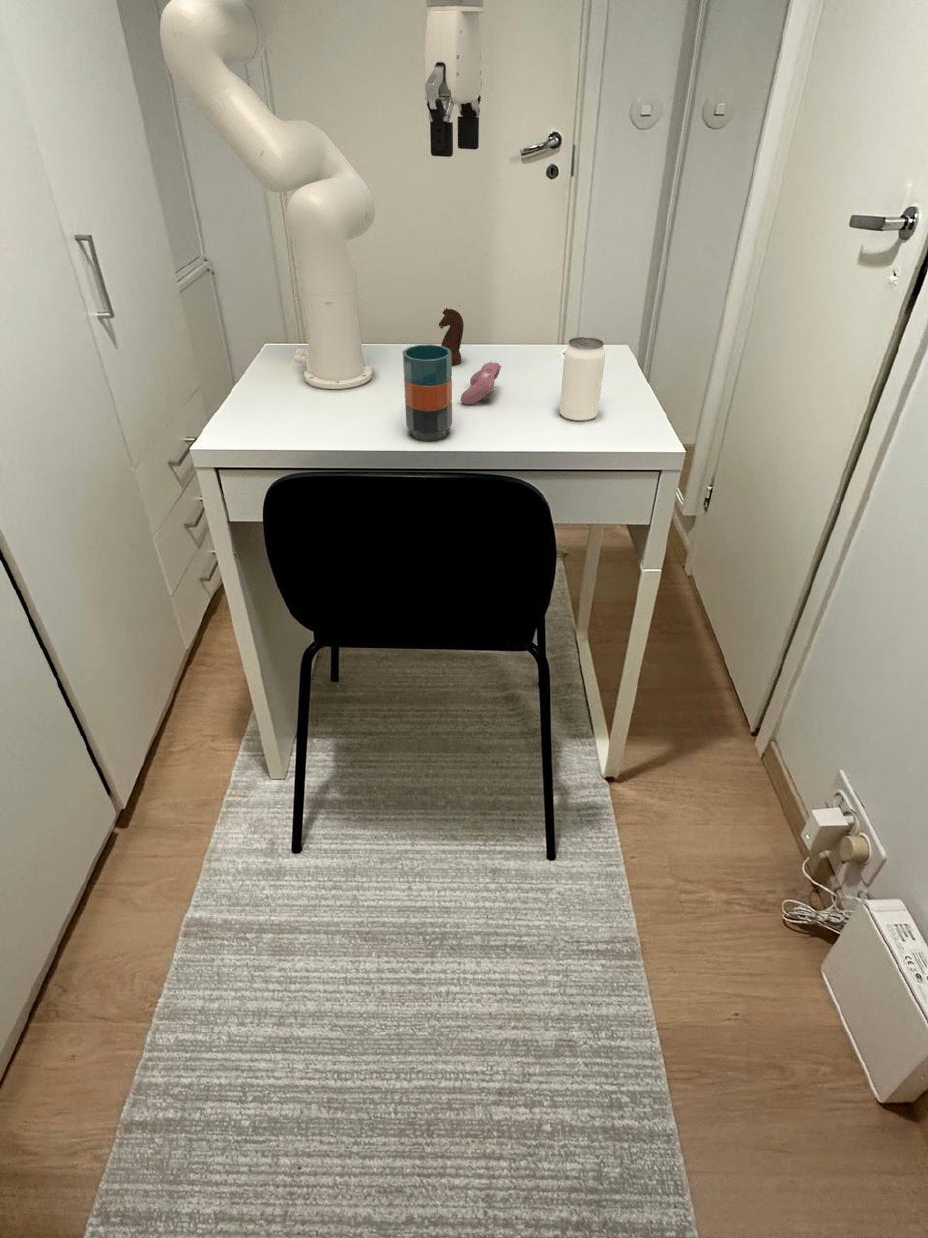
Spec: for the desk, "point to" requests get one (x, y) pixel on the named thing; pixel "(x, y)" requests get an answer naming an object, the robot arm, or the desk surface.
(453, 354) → the chess piece
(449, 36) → the robot arm
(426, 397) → the middle bowl
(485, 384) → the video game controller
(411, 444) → the desk surface
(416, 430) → the bottom bowl
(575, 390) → the can
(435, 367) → the top bowl
